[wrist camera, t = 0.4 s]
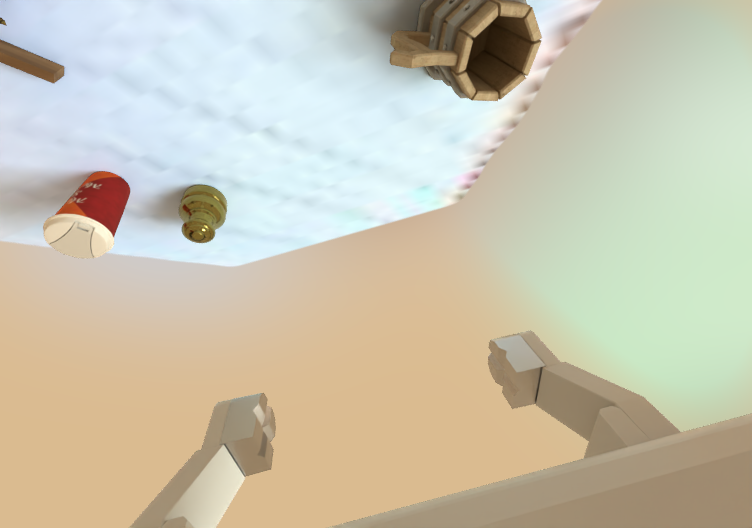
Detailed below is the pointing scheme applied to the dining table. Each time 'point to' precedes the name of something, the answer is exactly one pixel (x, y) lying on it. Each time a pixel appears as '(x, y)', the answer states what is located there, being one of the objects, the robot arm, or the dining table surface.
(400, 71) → the dining table surface
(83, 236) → the paper cup
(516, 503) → the robot arm
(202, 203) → the gold metal turned piece
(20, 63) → the trap channel
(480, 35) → the tankard
